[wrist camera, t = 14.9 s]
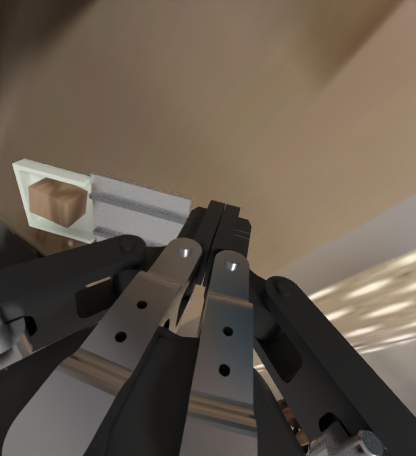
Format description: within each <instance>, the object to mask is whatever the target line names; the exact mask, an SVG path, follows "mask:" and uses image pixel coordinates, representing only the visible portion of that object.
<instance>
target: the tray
mask: <svg viewBox="0 0 416 456" xmlns="http://www.w3.org/2000/svg"><path fill="white" fill-rule="evenodd" d="M12 164H13V168H14V172H15V175H16V179H17V182H18V186H19V190H20V193H21V197H22V200H23V204H24V208H25V211H26V215H27V219H28V222H29V226H31V227H34V228H38V229H41V230H44V231H48V232H51V233H55V234H58V235H62V236H65V237H68V238H72V239H75V240H79V241H82V242H85V243H89V244H91V243H92V242H93V241H94V240H95V239H96V235H93V230H94V229H95V219H94V208H93V199H89V194H90V193H91V192H92V188H91V177H90V176H87V175H84V174H80V173H76V172H72V171H69V170H65V169H61V168H58V167H54V166H50V165H46V164H43V163H39V162H35V161H31V160H28V159H23V160H20V161H17V162H15V163H12ZM46 177H47V178H51V179H54V180H58V181H62V182H65V183H69V184H73V185H76V186H78V187H80V188H82V189H85V190H87V191H88V195H87V205H86V214H85V215H83V216H82V217H81V218H80V219H78V220H77V221H76V222H75V223H73V224H72V225H71V226H70V227H68V228H65V227H63V226H61V225H58V224H56V223H54V222H52V221H50V220H47V219H45V218H43V217H41V216H38V215H36V214H34V213H32V212H30V207H29V191H28V186H30V185H32V184H34V183H36V182H38V181H40V180H42V179H44V178H46Z"/></svg>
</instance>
